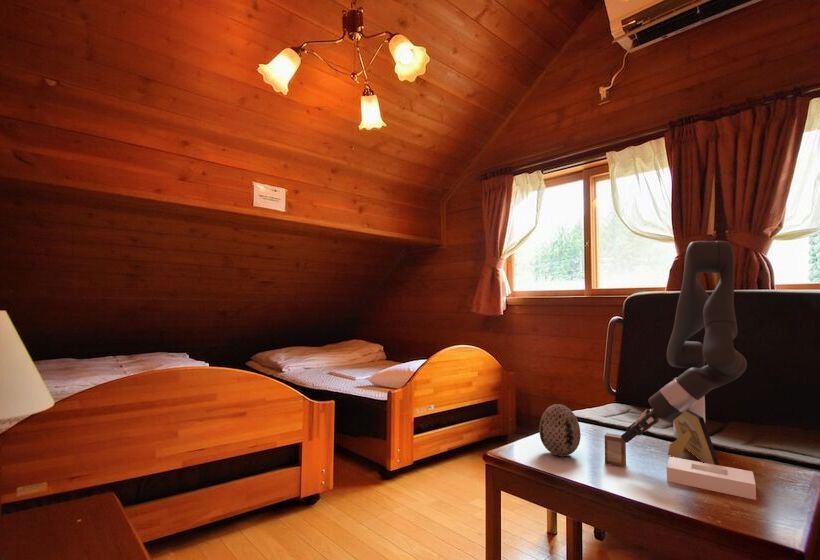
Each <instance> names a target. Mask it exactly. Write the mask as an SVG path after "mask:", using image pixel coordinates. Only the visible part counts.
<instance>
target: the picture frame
mask: <svg viewBox="0 0 820 560" xmlns="http://www.w3.org/2000/svg"><path fill="white" fill-rule="evenodd" d="M673 422H674V425H675V428H676V431H677V434H678V437H679V438H678V439H677V438H676V439H675V440H674V441H673V442H672V443H670V444H669V446H668V447H669V448H668V452H667V456H668V455H671V456H674V457H677V458H680V456H681V454H682V452H683V451H684V450H686V449H687V450H689V451H690V452H691V453H693V454H694V455H695V456H697V457H698V458H699V459H700V460H702V461H703V462H704V463H708V464H714V465H719V466H721V465H720V463H719V460H718V457H717V454H716V451H715V448H714V444H713V443H712V439H711V436H710V433H709V430H708V427H707V424H706V420H705V421H704V418H703V417H701V416H699V415H697V414H695V413H694V412H692V411H690V410H686V411H685V412H684V413H682V414H681V415H680V416H678V417H677V418H676V419H674V420H673V421H672V423H673ZM684 448H686V449H684ZM687 450H686V451H687ZM690 452H689V453H690ZM691 453H690V454H691ZM694 455H693V456H694ZM671 456H670V457H671ZM695 456H694V457H695ZM698 458H697V459H698ZM699 459H698V460H699ZM700 460H699V461H700Z"/></svg>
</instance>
